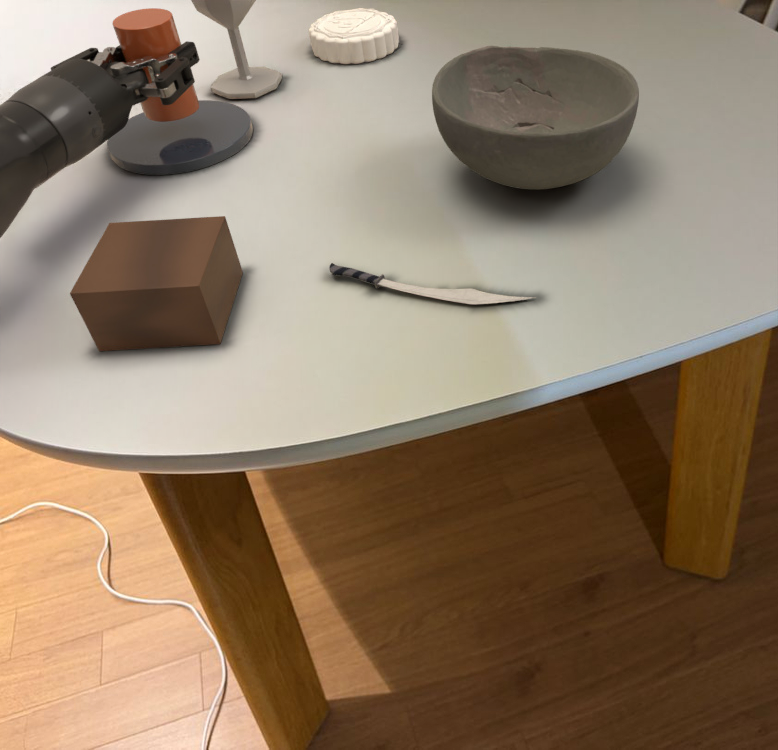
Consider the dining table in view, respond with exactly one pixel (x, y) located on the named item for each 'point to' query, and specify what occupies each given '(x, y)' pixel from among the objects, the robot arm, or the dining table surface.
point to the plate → (181, 140)
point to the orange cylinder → (154, 56)
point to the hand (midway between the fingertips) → (167, 47)
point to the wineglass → (237, 52)
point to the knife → (445, 294)
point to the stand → (159, 284)
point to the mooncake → (354, 36)
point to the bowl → (534, 113)
